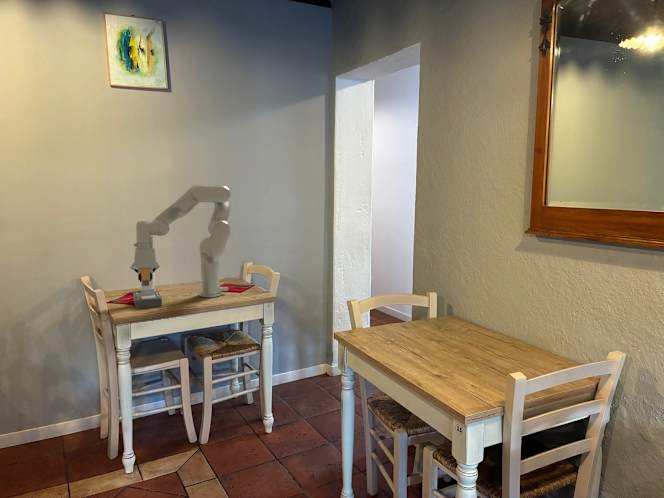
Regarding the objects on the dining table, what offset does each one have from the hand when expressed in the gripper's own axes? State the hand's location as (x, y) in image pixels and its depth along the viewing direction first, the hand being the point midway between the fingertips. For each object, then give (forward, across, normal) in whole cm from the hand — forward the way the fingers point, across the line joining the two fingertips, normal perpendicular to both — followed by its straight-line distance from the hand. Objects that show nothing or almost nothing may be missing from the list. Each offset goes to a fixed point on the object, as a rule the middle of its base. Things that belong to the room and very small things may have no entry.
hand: (145, 280), depth 245 cm
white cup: (+11, +4, +25) cm, 28 cm away
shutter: (+7, 0, -9) cm, 11 cm away
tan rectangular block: (+2, 0, 0) cm, 2 cm away
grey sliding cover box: (+11, +1, -3) cm, 11 cm away
